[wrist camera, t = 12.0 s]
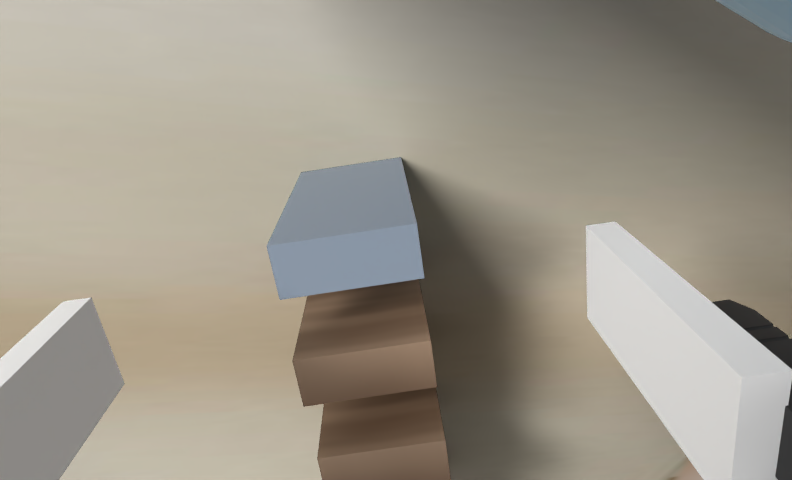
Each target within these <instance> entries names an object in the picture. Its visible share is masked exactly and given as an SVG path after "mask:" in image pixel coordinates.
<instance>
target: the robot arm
mask: <svg viewBox="0 0 792 480" xmlns="http://www.w3.org/2000/svg"><path fill="white" fill-rule="evenodd" d="M715 1H717V2H719V3H720V4H722V5H724V6H725V7H727V8H728V9H730V10H732V11H733V12H735V13H737V14H738V15H740V16H742V17H743V18H745V19H746V20H748V21H750V22H751V23H753V24H755V25H756V26H758V27H760V28H761V29H763V30H765V31H766V32H768V33H770V34H772V35H774V36H776V37H778V38H781V39H783V40H785V41H788V42H791V43H792V0H715ZM586 261H587V318H588V319H589V321H590V322H591V323H592V325H593V326H594V328H595V329H596V330H597V332H598V333H599V335H600V336H601V337H602V339H603V340H604V342H605V343H606V344H607V346H608V347H609V348H610V350H611V351H612V353H613V354H614V355H615V357H616V358H617V360H618V361H619V362H620V364H621V365H622V367H623V368H624V369H625V371H626V372H627V374H628V375H629V376H630V378H631V379H632V381H633V382H634V383H635V385H636V386H637V388H638V389H639V390H640V392H641V393H642V395H643V396H644V397H645V399H646V400H647V402H648V403H649V404H650V406H651V407H652V409H653V410H654V411H655V413H656V414H657V416H658V417H659V418H660V420H661V421H662V422H663V424H664V425H665V427H666V428H667V429H668V431H669V432H670V434H671V435H672V436H673V438H674V439H675V441H676V442H677V443H678V445H679V446H680V448H681V449H682V450H683V452H684V453H685V455H686V456H687V457H688V459H689V460H690V462H691V463H692V464H693V466H694V467H695V468H696V470H697V471H698V473H699V474H700V475H701V477H702V478H703V480H777V479H778V480H792V339H789V338H788V335H787V334H785V333H784V332H783V331H781V330H780V329H779V328H777V327H773V324H772V323H771V322H770V321H768V320H767V319H766V318H764V317H763V316H762V315H760V314H759V313H758V312H756V311H755V310H753V309H751V308H748V307H746V306H743V305H741V304H739V303H736V302H734V301H731V300H723V301H716V302H711V301H710V300H708V299H707V298H706V297H705V296H704V295H703V294H701V293H700V292H699V291H698V290H697V289H695V288H694V287H693V286H692V285H691V284H689V283H688V282H687V281H686V280H685V279H683V278H682V277H681V276H680V275H679V274H677V273H676V272H675V271H674V270H673V269H671V268H670V267H669V266H668V265H667V264H666V263H664V262H663V261H662V260H661V259H660V258H658V257H657V256H656V255H655V254H654V253H652V252H651V251H650V250H649V249H648V248H646V247H645V246H644V245H643V244H642V243H640V242H639V241H638V240H637V239H636V238H634V237H633V236H632V235H631V234H630V233H629V232H627V231H626V230H625V229H624V228H623V227H621V226H620V225H619V224H618V223H617V222H608V223H601V224H594V225H587V226H586ZM124 384H125V383H124V381H123V378H122V376H121V373H120V370H119V368H118V365H117V363H116V360H115V358H114V355H113V352H112V350H111V347H110V345H109V342H108V339H107V337H106V334H105V332H104V329H103V327H102V324H101V321H100V319H99V316H98V314H97V311H96V308H95V306H94V303H93V301H92V298H84V299H77V300H71V301H64V302H62V303H61V304H60V305H59V306H57V307H56V308H55V309H54V310H53V311H52V312H51V313H50V314H49V315H48V316H47V317H45V318H44V319H43V320H42V321H41V322H40V323H39V324H38V325H37V326H36V327H34V328H33V329H32V330H31V331H30V332H29V333H28V334H27V335H26V336H25V337H23V338H22V339H21V340H20V341H19V342H18V343H17V344H16V345H15V346H14V347H12V348H11V349H10V350H9V351H8V352H7V353H6V354H5V355H4V356H3V357H1V358H0V480H59V479H60V477H61V476H62V475H63V473H64V472H65V470H66V469H67V467H68V466H69V464H70V463H71V461H72V460H73V458H74V457H75V455H76V454H77V453H78V451H79V450H80V448H81V447H82V445H83V444H84V442H85V441H86V439H87V438H88V436H89V435H90V433H91V432H92V431H93V429H94V428H95V426H96V425H97V423H98V422H99V420H100V419H101V417H102V416H103V414H104V413H105V412H106V410H107V409H108V407H109V406H110V404H111V403H112V401H113V400H114V398H115V397H116V395H117V394H118V392H119V391H120V390H121V388H122V387H123V385H124Z"/></svg>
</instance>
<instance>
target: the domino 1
mask: <svg viewBox="0 0 792 480" xmlns="http://www.w3.org/2000/svg"><path fill="white" fill-rule="evenodd" d="M267 250H268V254H269V258H270V262H271V266H272V270H273V274H274V278H275V282H276V286H277V290H278V295H279V299H280V300H282V299H289V298H296V297H302V296H309V295H316V294H322V293H329V292H336V291H342V290H349V289H356V288H362V287H369V286H376V285H383V284H389V283H396V282H403V281H409V280H416V279H423V278H424V271H423V264H422V257H421V249H420V242H419V235H418V228H417V222H416V218H415V213H414V209H413V205H412V201H411V197H410V193H409V189H408V184H407V180H406V176H405V172H404V168H403V164H402V160H401V157H399V158H393V159H386V160H379V161H373V162H366V163H360V164H353V165H346V166H340V167H333V168H327V169H320V170H313V171H307V172H301V174H300V176H299V178H298V180H297V182H296V185H295V187H294V189H293V191H292V193H291V195H290V197H289V200H288V202H287V204H286V206H285V208H284V210H283V212H282V214H281V217H280V219H279V221H278V223H277V225H276V227H275V229H274V232H273V234H272V236H271V238H270V240H269V242H268V244H267Z"/></svg>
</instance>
